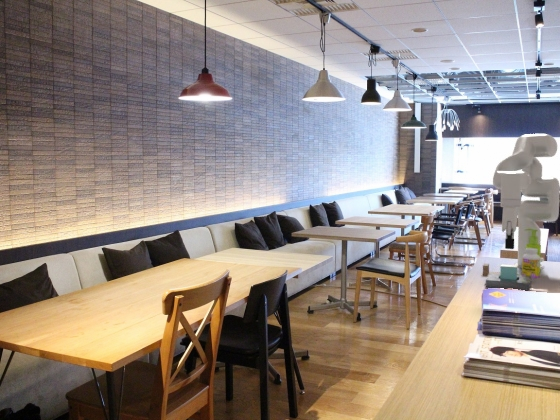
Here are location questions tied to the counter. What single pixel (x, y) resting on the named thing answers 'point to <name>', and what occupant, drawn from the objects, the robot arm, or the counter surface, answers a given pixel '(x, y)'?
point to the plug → (508, 272)
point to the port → (508, 282)
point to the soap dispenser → (534, 242)
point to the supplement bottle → (531, 263)
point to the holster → (487, 270)
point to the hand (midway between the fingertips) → (509, 248)
